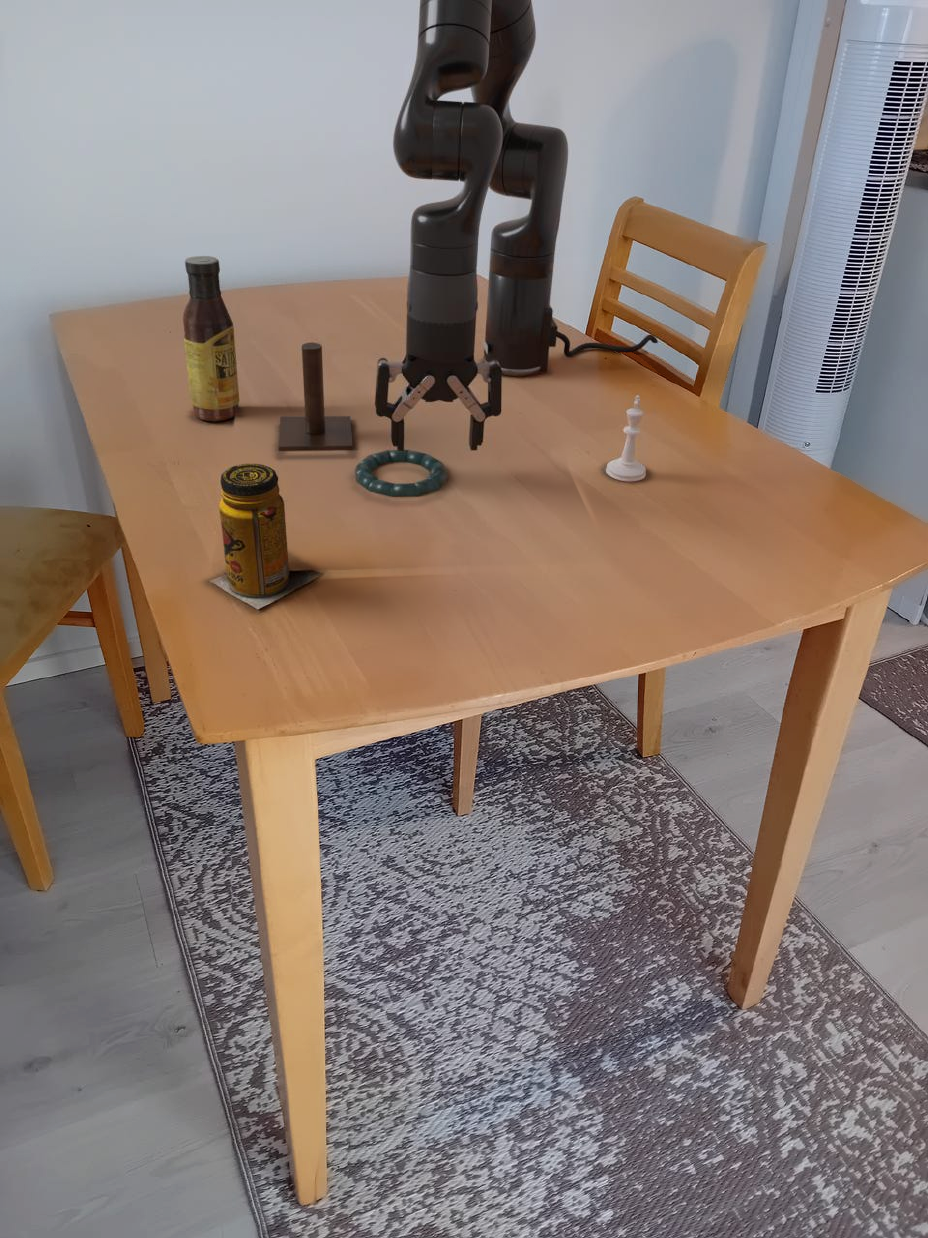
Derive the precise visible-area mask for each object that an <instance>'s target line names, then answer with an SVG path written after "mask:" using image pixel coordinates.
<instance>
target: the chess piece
mask: <svg viewBox="0 0 928 1238" xmlns="http://www.w3.org/2000/svg"><path fill="white" fill-rule="evenodd" d="M640 397H641V395H637V394H636V395H635V398H634V402H633V404H632V408H629V409H627V410H626V417H627V423H628V425H626V426H624V428H623V429H622V431H623V433H624V434H626V435H627V436H626V440H625V443H624V447H623V450H622V453H621V456H620V457H618V458H616V459H612V460H610V461H609V462H608V463H606V464H607V465H606V468H605V472H606V474H607V475H608V476H609V477H610V478H612V479H614V480H617V481H622V482H639V481H641V480H644V478H645V477H646V475H647V473H646V470H647V469H646V467H645V465H644V464H643V463H641V462H639V461H637V459H636V436H638V435H640V434H641V433H642V430H641V428H640V427H638V426H639V424H640V422H641V420H642V419H643V417H644V411H643V410H642V409H639V404H640V402H641V399H640Z"/></svg>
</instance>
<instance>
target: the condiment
mask: <svg viewBox="0 0 928 1238" xmlns="http://www.w3.org/2000/svg"><path fill="white" fill-rule="evenodd" d="M220 485H221V492H220V493H221V499H220V502H219V506H218V508H219V518H220V525H221V533H222V542H223V553H224V561H225V569H226V573H225V574H223V575H222V574H221V575H220V576H219V577H216V578H214V579H210V580H209V582H211V583H212V584H214V585H215V586H217V587H219V588H220V589H221V590H223V591H225V592H226V593H228V594H229V595H231V596H232V597H234V598H236V599H238V600H239V601H241V602H243V603H245V604H248V605H249V606H251V607H253V608H254V609H255V610H259V609H262V608H263V607H266V606H268V605H270V604H272V603H274V602H275V601H278V600H280V599H281V598H284V597H285V596H288V595H289V594H290V593H292V592H294V591H295V590H297V589H298V588H301V587H303V586H304V585H307V584H309V583H310V582H312V581H313V580H314V579H316V578H318V577H320V576H322V575H323V573H321V572H319V571H316V570H314V569H299V570H290V567H289V566H290V563H289V551H288V550H289V549H288V539H287V537H288V535H287V523H286V509H285V501H284V498H283V496H281V494H280V487H279V476H278V473H277V472H276V470H275V469H274V468H272V467H270V466H268V465H264V464H261V463H242V464H237V465H233V466H231V467H229V468H228V469H226V470H225V471H224V472H223V473H222V474H221V475H220Z"/></svg>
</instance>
